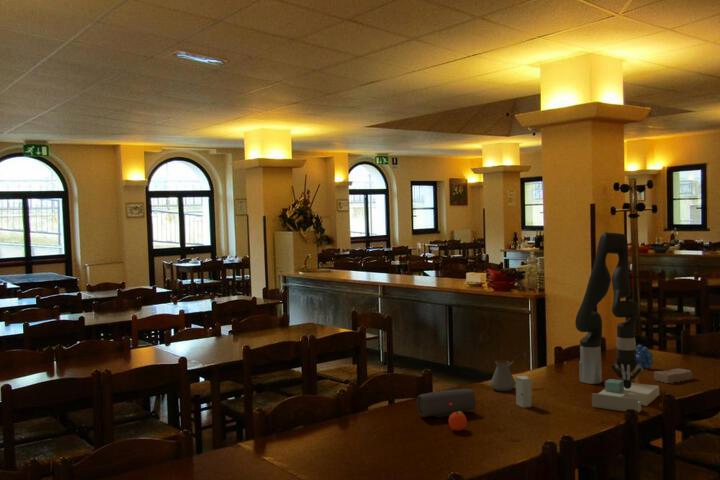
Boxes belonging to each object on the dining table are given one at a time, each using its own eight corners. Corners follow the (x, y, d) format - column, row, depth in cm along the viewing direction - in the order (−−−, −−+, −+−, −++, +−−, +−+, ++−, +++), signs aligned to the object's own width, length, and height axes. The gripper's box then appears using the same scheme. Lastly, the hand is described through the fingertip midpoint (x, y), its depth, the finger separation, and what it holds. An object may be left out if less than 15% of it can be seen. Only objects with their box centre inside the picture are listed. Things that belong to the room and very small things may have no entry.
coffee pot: (504, 393, 297) (502, 360, 296) (485, 389, 306) (484, 357, 306) (535, 385, 309) (534, 353, 309) (516, 381, 318) (515, 350, 318)
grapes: (627, 367, 335) (626, 344, 335) (634, 365, 339) (633, 342, 339) (648, 371, 326) (648, 347, 326) (656, 369, 330) (655, 345, 330)
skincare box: (515, 404, 279) (514, 376, 279) (524, 403, 281) (523, 375, 280) (523, 408, 273) (522, 379, 273) (532, 406, 275) (531, 378, 274)
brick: (678, 376, 315) (678, 366, 315) (693, 379, 307) (693, 370, 307) (653, 381, 308) (653, 371, 308) (668, 385, 301) (668, 375, 300)
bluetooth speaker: (424, 421, 261) (423, 396, 261) (416, 415, 270) (415, 391, 270) (477, 414, 267) (476, 390, 267) (467, 408, 276) (466, 385, 276)
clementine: (456, 425, 254) (455, 407, 254) (472, 428, 250) (471, 410, 250) (445, 431, 248) (444, 412, 248) (461, 434, 244) (460, 415, 243)
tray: (592, 406, 271) (591, 393, 271) (616, 389, 295) (616, 377, 295) (637, 413, 260) (637, 399, 259) (659, 395, 284) (658, 382, 284)
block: (605, 391, 280) (604, 381, 279) (609, 388, 284) (609, 378, 284) (619, 393, 276) (619, 383, 276) (623, 389, 280) (623, 380, 280)
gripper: (645, 347, 276) (646, 388, 276) (613, 344, 284) (614, 384, 284) (640, 350, 270) (641, 392, 270) (607, 347, 278) (608, 388, 279)
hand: (627, 388), depth 277 cm, fingers closed
